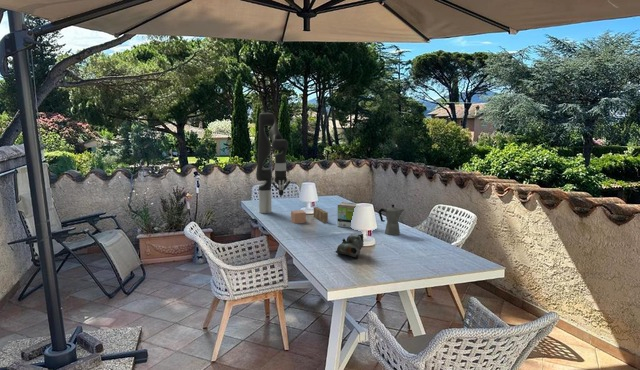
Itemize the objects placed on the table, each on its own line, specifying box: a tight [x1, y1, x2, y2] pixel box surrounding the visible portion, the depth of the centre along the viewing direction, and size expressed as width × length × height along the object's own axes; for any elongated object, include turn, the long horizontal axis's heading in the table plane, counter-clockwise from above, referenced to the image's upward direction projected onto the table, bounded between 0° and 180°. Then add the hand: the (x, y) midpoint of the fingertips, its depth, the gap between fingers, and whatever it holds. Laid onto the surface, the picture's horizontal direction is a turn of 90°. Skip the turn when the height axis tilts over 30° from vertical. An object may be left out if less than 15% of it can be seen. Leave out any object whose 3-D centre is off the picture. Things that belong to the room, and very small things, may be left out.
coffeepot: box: [377, 204, 404, 236], centre depth 260 cm, size 15×9×18 cm, turn 92°
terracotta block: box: [290, 210, 307, 224], centre depth 292 cm, size 8×8×7 cm
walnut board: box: [313, 206, 329, 224], centre depth 298 cm, size 20×3×7 cm, turn 20°
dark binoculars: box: [334, 232, 364, 259], centre depth 218 cm, size 15×12×14 cm
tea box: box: [336, 201, 359, 229], centre depth 279 cm, size 15×10×15 cm
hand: (281, 195), depth 286 cm, fingers closed
